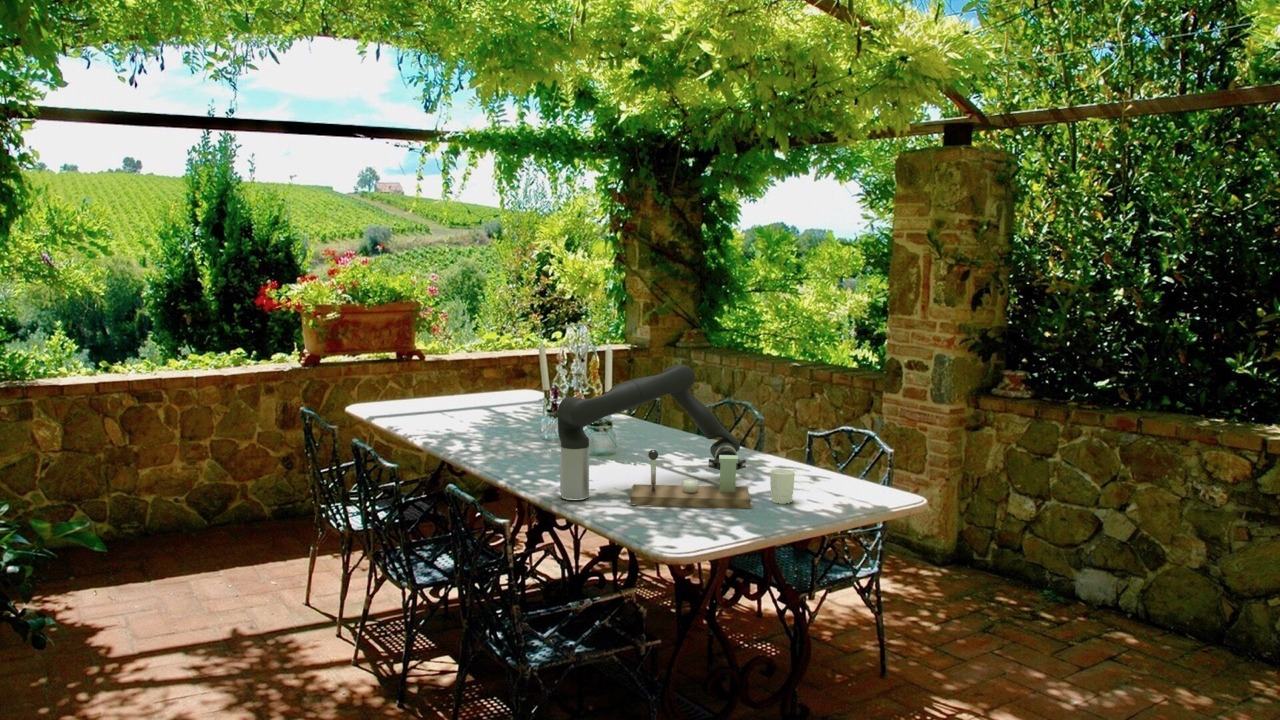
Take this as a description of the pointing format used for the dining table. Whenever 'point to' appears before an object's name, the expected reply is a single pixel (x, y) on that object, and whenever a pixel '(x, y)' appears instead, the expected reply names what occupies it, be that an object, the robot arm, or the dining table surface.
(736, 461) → the sage-green paddle lever
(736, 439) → the robot arm
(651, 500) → the walnut switch board
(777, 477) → the white cup
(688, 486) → the ivory push button
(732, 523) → the dining table surface
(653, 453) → the steel toggle lever
